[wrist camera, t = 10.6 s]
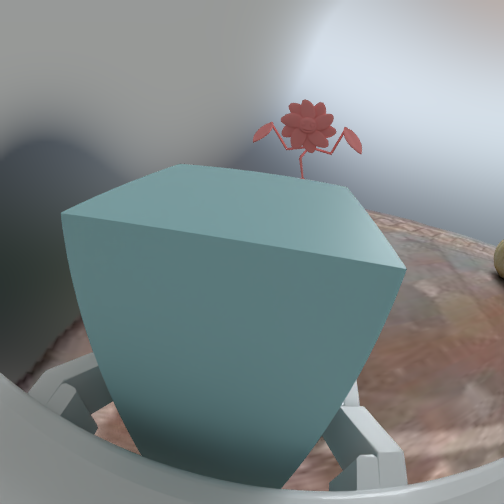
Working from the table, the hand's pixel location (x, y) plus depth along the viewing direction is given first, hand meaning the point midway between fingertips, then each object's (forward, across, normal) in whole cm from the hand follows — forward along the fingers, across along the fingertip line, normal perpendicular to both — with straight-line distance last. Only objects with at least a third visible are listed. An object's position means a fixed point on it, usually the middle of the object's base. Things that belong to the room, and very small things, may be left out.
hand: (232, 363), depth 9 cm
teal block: (-1, 0, +8) cm, 8 cm away
